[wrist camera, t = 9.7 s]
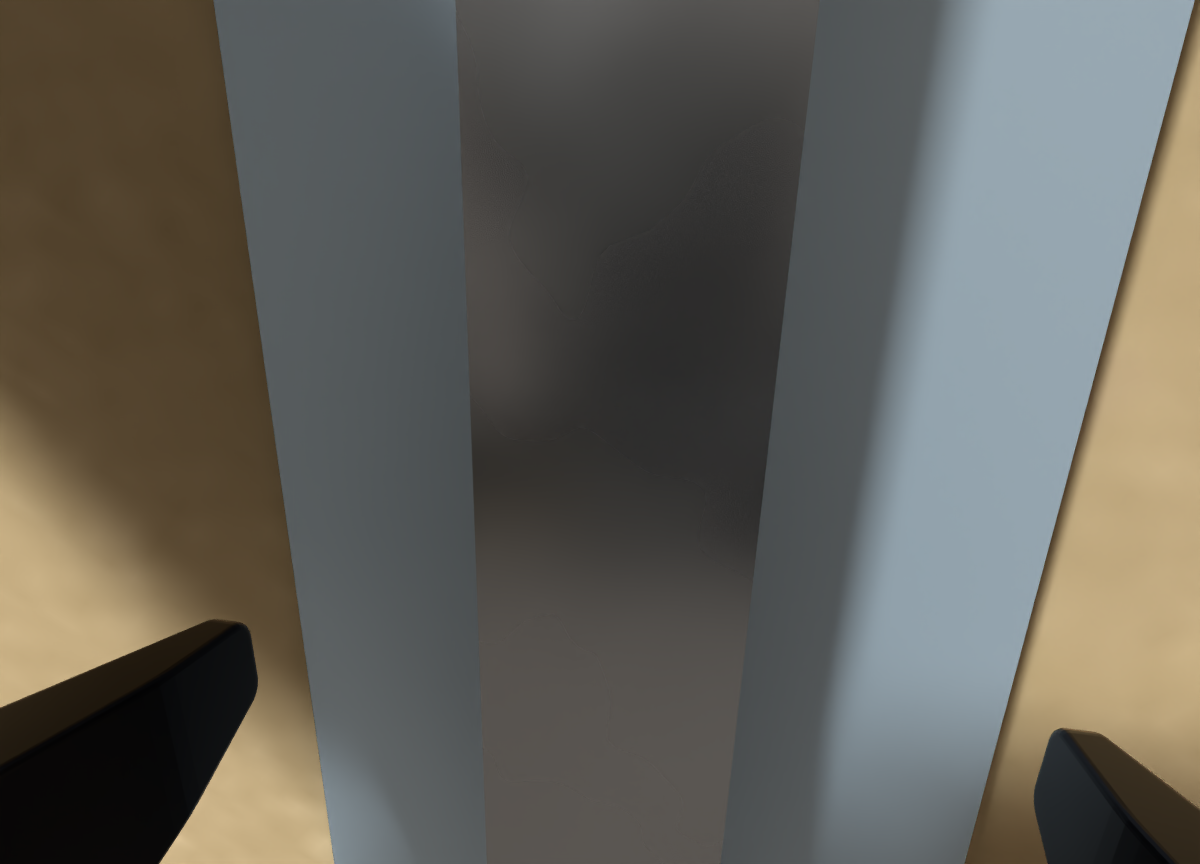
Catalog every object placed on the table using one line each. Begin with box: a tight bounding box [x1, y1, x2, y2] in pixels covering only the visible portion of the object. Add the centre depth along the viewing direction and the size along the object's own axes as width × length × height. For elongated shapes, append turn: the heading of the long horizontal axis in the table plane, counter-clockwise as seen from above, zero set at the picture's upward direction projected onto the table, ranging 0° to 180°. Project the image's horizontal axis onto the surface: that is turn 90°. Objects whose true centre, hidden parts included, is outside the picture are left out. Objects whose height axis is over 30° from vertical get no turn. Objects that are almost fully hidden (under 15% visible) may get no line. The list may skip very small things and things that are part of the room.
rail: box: [455, 0, 820, 864], centre depth 8 cm, size 26×2×2 cm, turn 178°
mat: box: [213, 0, 1195, 864], centre depth 10 cm, size 9×30×1 cm, turn 179°
